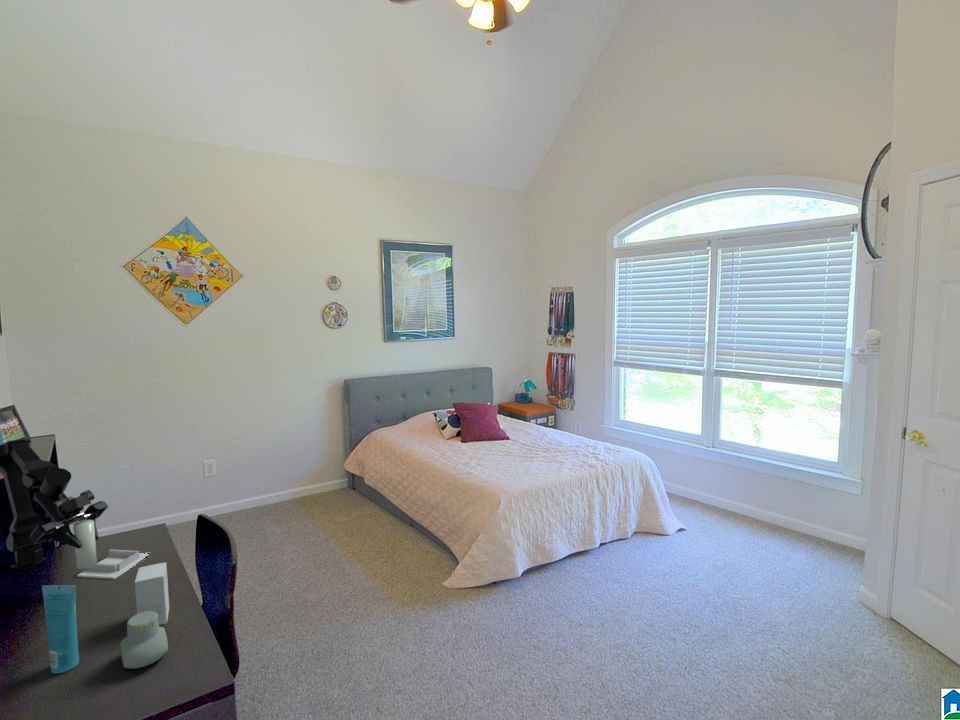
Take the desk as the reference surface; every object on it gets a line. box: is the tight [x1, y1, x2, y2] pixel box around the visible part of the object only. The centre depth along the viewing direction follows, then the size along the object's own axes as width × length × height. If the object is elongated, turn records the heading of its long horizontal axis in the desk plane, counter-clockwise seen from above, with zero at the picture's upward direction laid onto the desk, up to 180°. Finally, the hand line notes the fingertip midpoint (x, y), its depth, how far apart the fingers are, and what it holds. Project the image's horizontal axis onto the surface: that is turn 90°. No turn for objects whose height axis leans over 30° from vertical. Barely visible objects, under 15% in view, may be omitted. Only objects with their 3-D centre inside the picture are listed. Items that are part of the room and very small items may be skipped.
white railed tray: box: [76, 548, 149, 580], centre depth 155 cm, size 12×15×3 cm
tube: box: [41, 584, 80, 675], centre depth 110 cm, size 7×5×19 cm, turn 96°
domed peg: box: [72, 520, 98, 570], centre depth 141 cm, size 5×5×12 cm
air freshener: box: [119, 611, 169, 670], centre depth 113 cm, size 11×8×10 cm
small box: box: [133, 562, 170, 626], centre depth 127 cm, size 8×6×13 cm
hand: (89, 543), depth 141 cm, fingers closed on domed peg, 5 cm apart
